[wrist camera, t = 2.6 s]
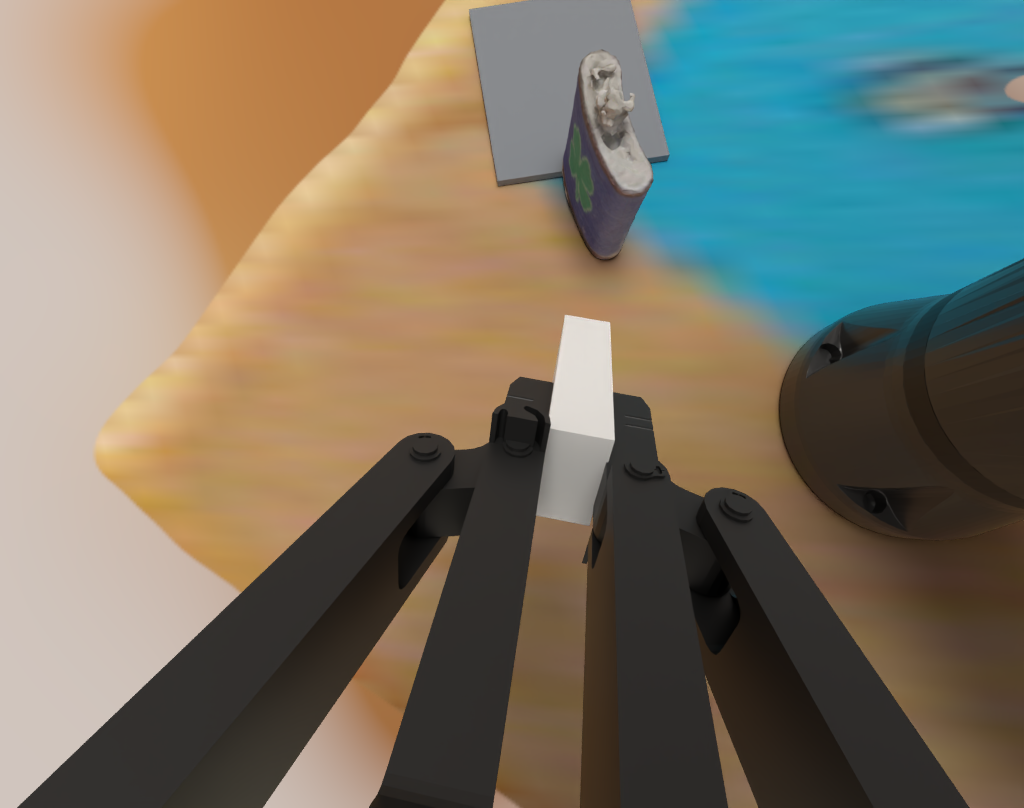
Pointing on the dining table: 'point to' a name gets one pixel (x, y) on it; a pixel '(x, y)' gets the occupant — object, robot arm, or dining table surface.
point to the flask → (603, 157)
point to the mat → (554, 79)
